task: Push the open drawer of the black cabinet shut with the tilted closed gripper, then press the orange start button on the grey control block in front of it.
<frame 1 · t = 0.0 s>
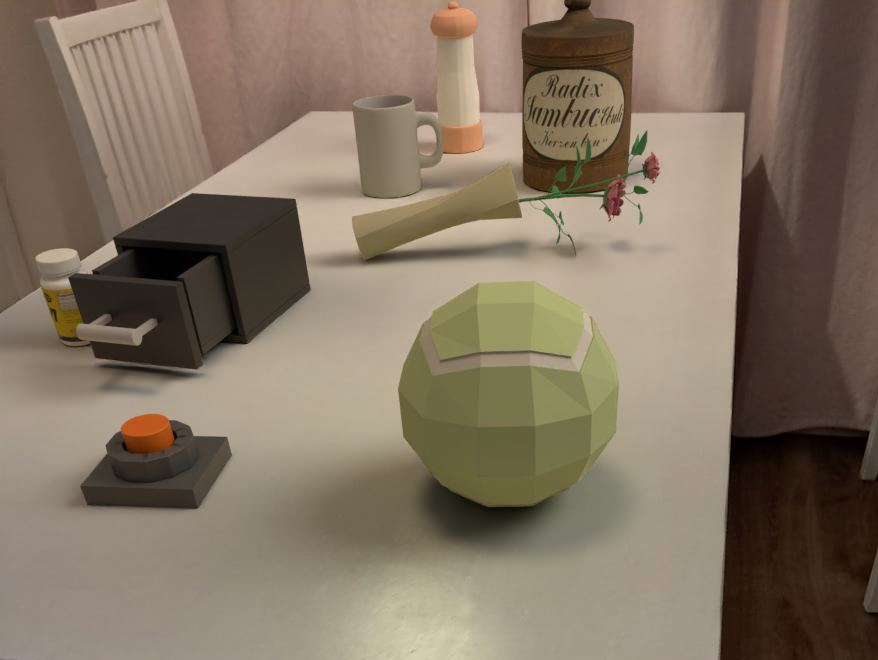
drawer: (160, 305, 89), point 5 cm above the table, slide at 7.0 cm
black cabinet: (228, 310, 99), on the table
supplement bottle: (84, 339, 96), on the table
wooden container: (575, 180, 131), on the table
start button: (147, 434, 71), point 4 cm above the table, slide at 0.1 cm
control block: (161, 479, 73), on the table
mug: (404, 190, 131), on the table
decorative sphere: (511, 491, 70), on the table
flower vase: (504, 253, 109), on the table
pepper shaker: (460, 148, 146), on the table
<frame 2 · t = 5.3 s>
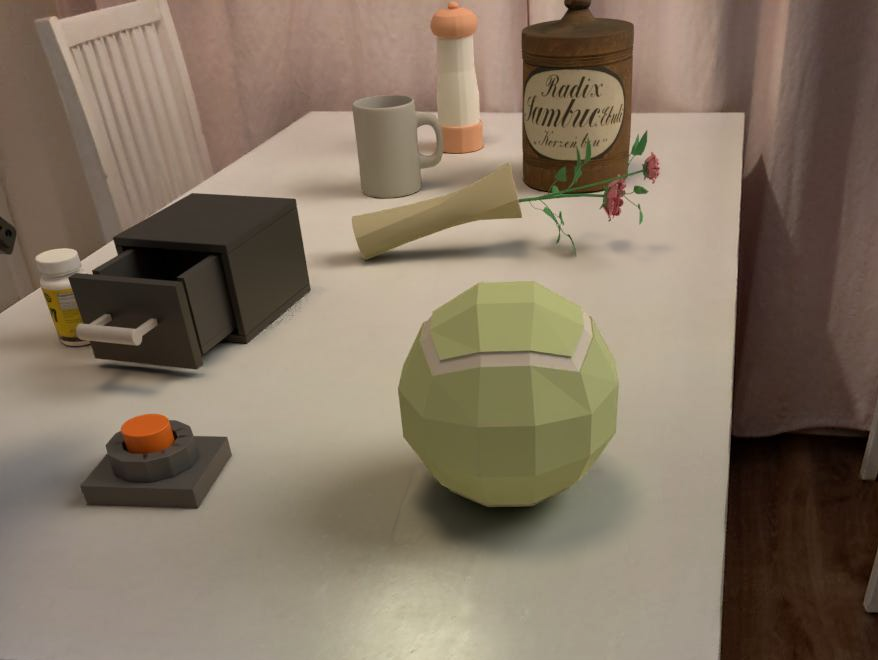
hand: (6, 242, 70), 16 cm above the table, tool tilted 45°, fingers closed
nothing on the table moved.
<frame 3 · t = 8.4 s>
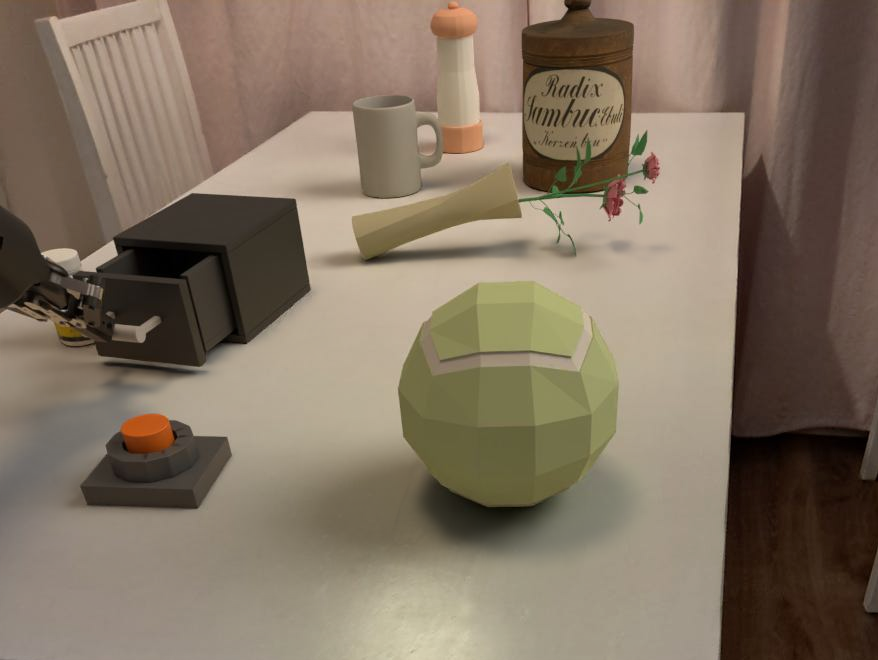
hand: (106, 331, 82), 6 cm above the table, tool tilted 45°, fingers closed
drawer: (164, 302, 89), point 5 cm above the table, slide at 6.4 cm, touching gripper
everything else where it was.
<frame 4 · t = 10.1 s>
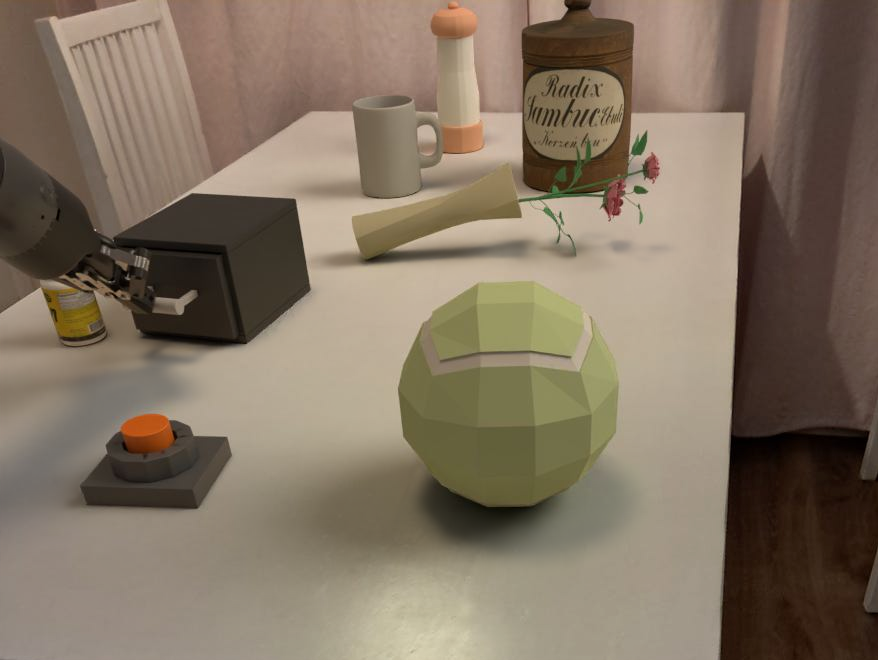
hand: (147, 304, 87), 6 cm above the table, tool tilted 45°, fingers closed
drawer: (199, 278, 93), point 5 cm above the table, slide at 0.0 cm, touching black cabinet, gripper
everything else where it was.
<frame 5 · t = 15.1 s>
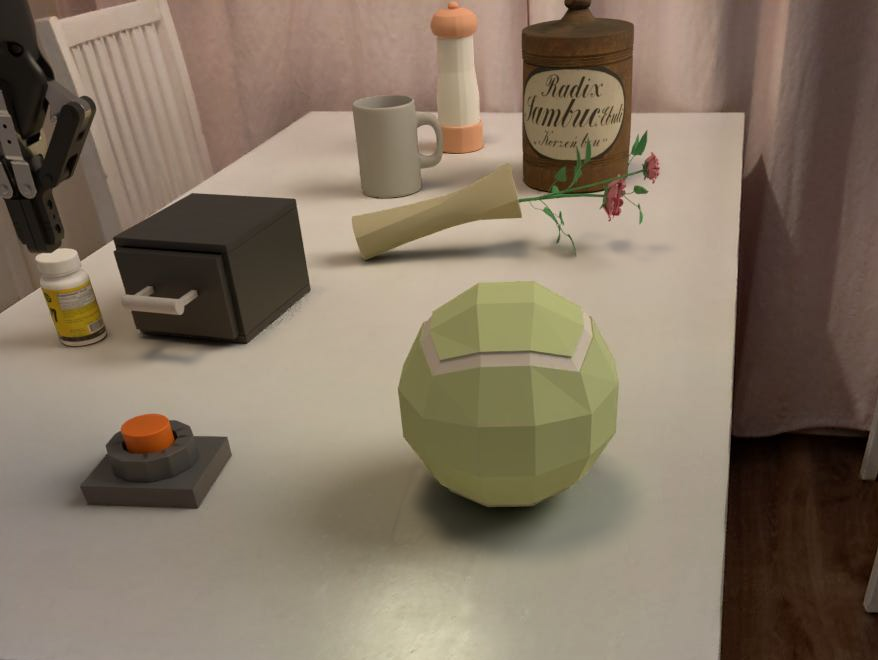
hand: (47, 249, 66), 17 cm above the table, tool pointing down, fingers closed
drawer: (199, 278, 93), point 5 cm above the table, slide at 0.0 cm, touching black cabinet
everything else where it was.
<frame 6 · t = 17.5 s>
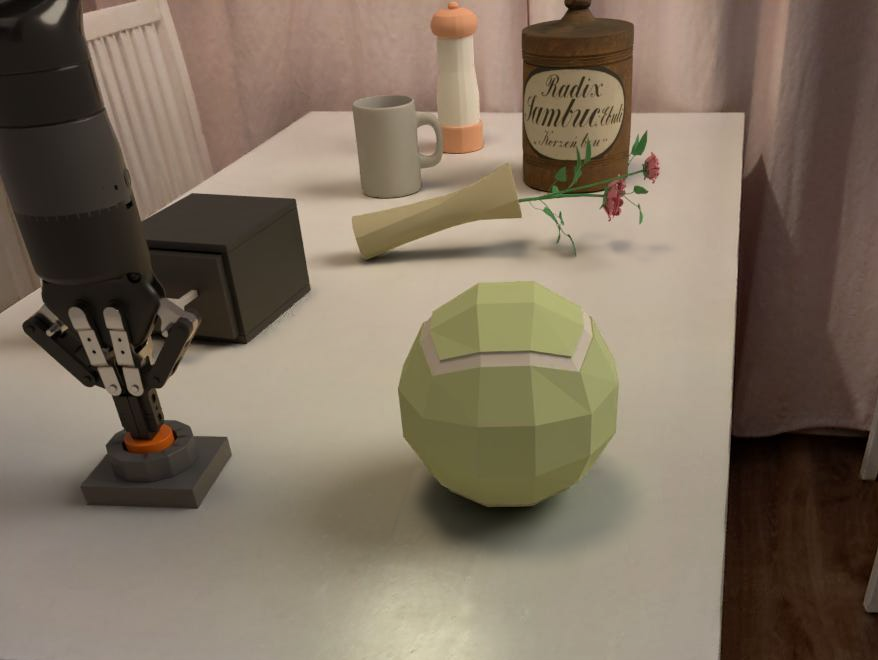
hand: (147, 434, 71), 4 cm above the table, tool pointing down, fingers closed
start button: (150, 444, 71), point 3 cm above the table, slide at -0.8 cm, touching gripper
everything else where it was.
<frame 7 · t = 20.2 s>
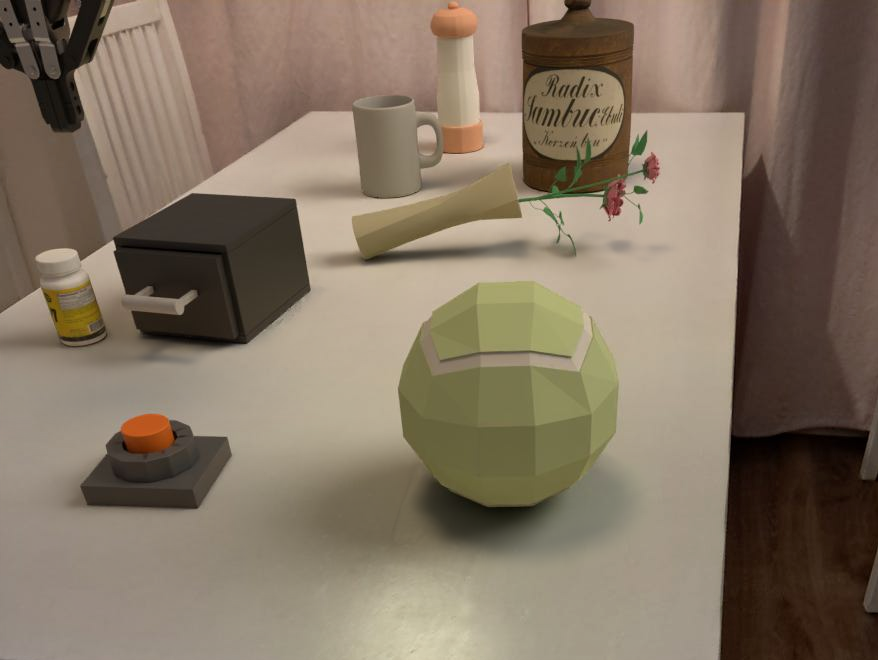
hand: (68, 130, 73), 21 cm above the table, tool pointing down, fingers closed
start button: (147, 434, 71), point 4 cm above the table, slide at 0.1 cm
everything else where it was.
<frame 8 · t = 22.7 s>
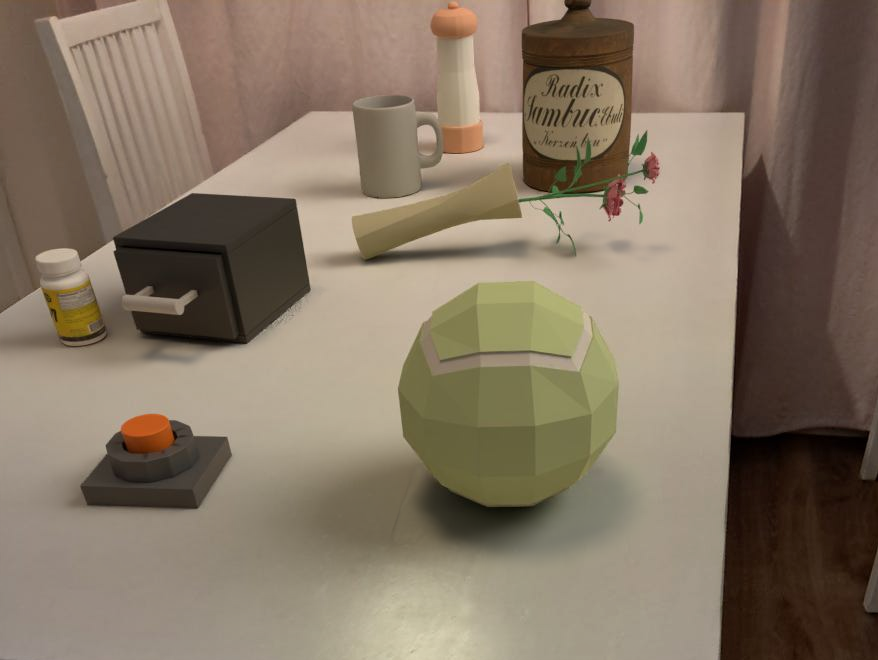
nothing on the table moved.
at the end: drawer slide at 0.0 cm; start button pushed in 1.0 cm at the most during the clip, back to where it started at the end; start button slide at 0.1 cm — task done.
